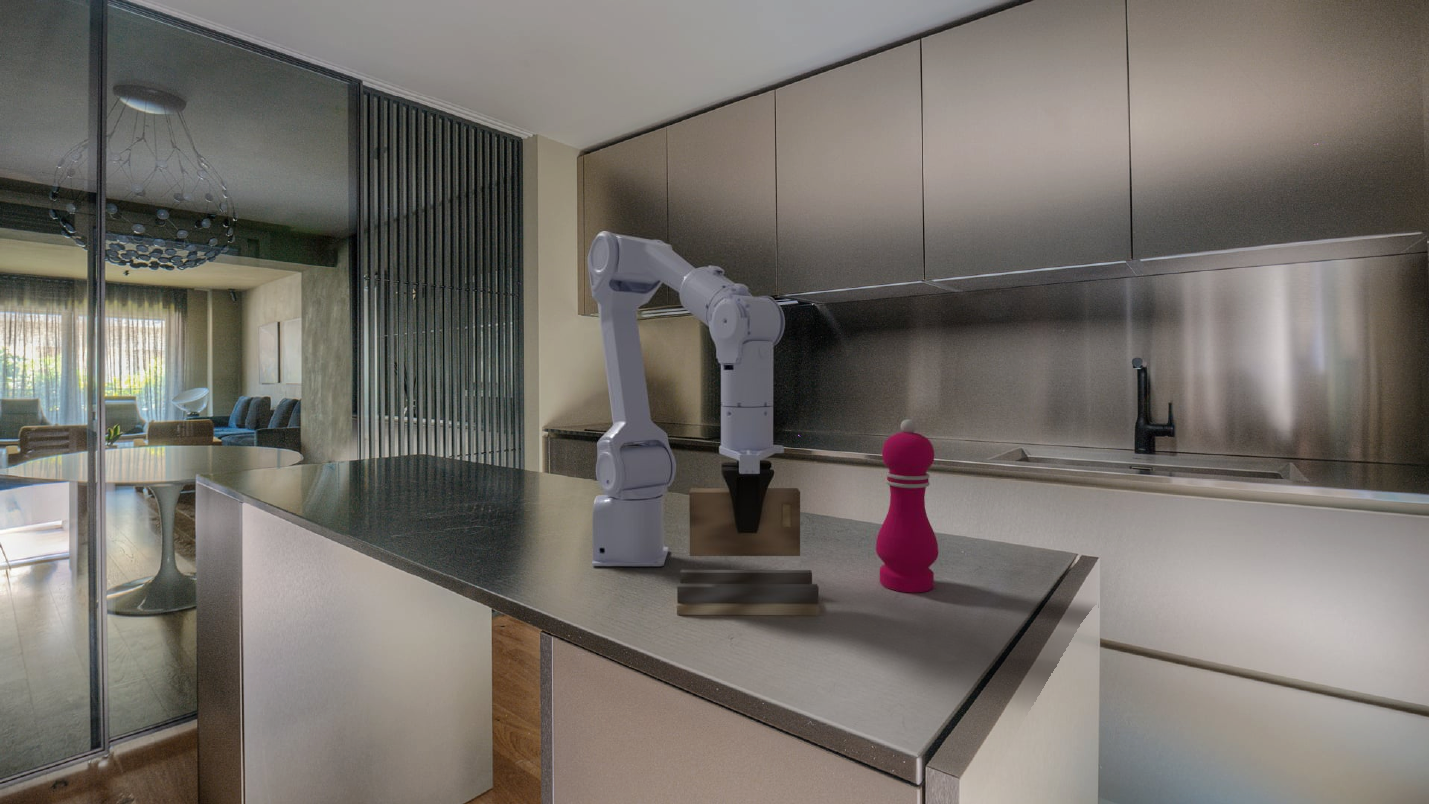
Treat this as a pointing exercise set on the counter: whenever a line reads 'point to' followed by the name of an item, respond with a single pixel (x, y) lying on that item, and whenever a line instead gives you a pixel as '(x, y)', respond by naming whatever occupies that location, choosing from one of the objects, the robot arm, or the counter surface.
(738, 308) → the robot arm
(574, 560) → the counter surface
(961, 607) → the counter surface
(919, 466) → the pepper mill
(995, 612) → the counter surface
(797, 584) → the track board
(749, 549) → the door panel
